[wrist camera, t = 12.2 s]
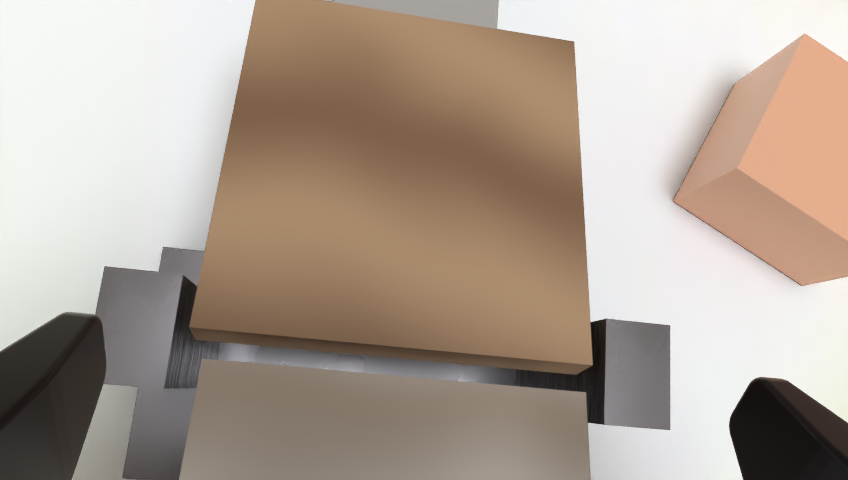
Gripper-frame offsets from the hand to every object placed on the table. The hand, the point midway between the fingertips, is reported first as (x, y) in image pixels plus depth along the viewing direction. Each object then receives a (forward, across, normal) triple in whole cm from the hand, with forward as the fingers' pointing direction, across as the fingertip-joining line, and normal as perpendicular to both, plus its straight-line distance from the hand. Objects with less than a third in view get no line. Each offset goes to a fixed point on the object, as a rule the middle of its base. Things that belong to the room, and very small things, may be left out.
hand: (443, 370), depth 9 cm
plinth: (+16, -15, +3) cm, 22 cm away
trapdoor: (+8, 0, +3) cm, 9 cm away
